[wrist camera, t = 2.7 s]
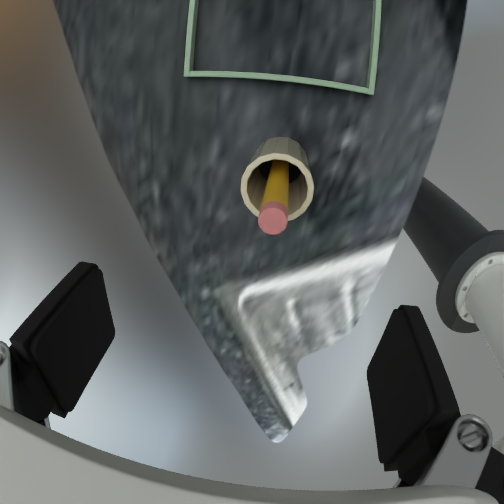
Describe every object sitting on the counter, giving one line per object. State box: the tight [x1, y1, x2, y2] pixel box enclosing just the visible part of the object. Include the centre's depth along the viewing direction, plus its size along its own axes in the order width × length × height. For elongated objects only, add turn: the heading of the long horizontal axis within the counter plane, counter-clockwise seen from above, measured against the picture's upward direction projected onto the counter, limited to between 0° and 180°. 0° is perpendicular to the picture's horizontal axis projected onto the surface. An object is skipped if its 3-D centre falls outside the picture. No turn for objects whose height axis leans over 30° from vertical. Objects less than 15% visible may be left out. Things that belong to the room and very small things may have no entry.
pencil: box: [258, 159, 289, 235], centre depth 26 cm, size 2×2×16 cm
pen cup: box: [241, 137, 314, 221], centre depth 29 cm, size 6×6×10 cm
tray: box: [184, 0, 382, 95], centre depth 25 cm, size 19×14×2 cm
